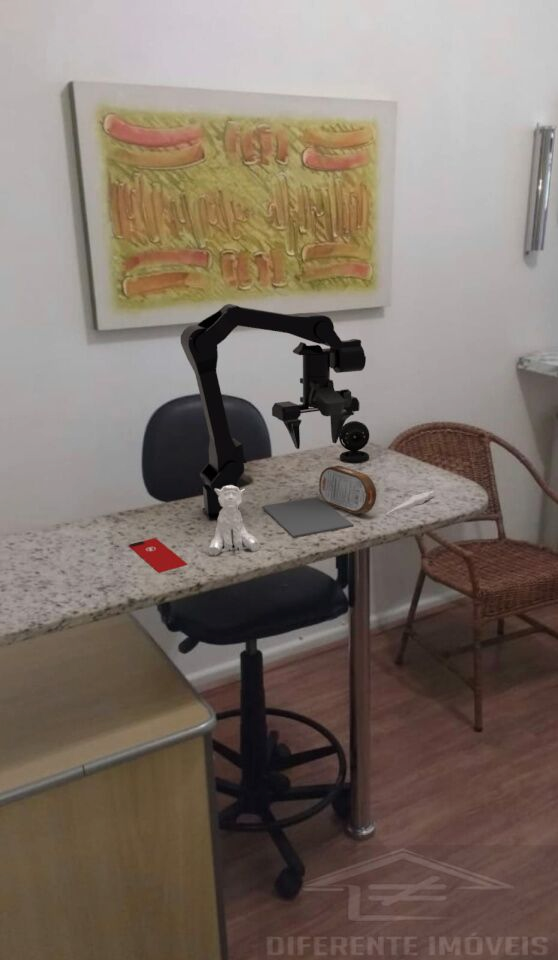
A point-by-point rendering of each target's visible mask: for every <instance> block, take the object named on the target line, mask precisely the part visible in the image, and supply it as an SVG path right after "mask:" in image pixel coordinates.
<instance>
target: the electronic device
mask: <svg viewBox="0 0 558 960" xmlns="http://www.w3.org/2000/svg"><path fill="white" fill-rule="evenodd" d="M128 547H129V549H131V550H132V551H134V552H135V553H136V555H138V557H140V558H141V559H142V560H143V561H145V563H146V564H148V565H149V566H150V567H151V568H152V569H153V570H154V571H156V572H157V573H159V574H160V573H164V572H167V571H172V570H175V569H178V568H181V567H184V566H185V567H186V566H187V565H188V562H186V561H185V560H184V559H183V558H181V557H180V556H179V555H178V554H176V553H175V552H173V551H172V549H170V548H169V547H168V546H167V545H165V544H164V543H163V542H161V541H160V540H159V539H157V537H156V538H155V537H154V538H149V539H146V540H142V541H137V542H132V543H130V544H128Z"/></svg>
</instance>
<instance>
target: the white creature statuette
mask: <svg viewBox="0 0 558 960" xmlns="http://www.w3.org/2000/svg"><path fill="white" fill-rule="evenodd" d="M214 490H215V491H216V493H217V495H218V496H219V497H218V500H219V503H220V506H222V507H223V508H222V509H221V511H220V512H219V517H218V519H216V520H217V523H216V527H215V528H216V529H215V532H214V537H213V539H212V540H211V541H210V544H209V546H208V553H209V555H210V556H214V557H215V556H219V554H220V553H225V552H229V550H230V551H231V552H232V551H233V550H235V551H238V550H239V551H242V550H246V549H248V550H250V551H252V552H257V551H258V550H259V547H260V546H259V545H260V544H259V541H258V540H257V539H256V537H255V536H254V535H252V534H250V533H249V532H248V530H247V529H246V528H245V524H244V522H243V521H244V519H243V517H242V513H241V511H240V506H241V504H243V496H244V493H245V490H246V488H242V489H239V487H238V486H237V485H236V486H233V485H229V486H224V487H222V489H221V490H219V489H214ZM238 507H239V509H238ZM233 546H234V547H233Z"/></svg>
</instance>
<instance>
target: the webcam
mask: <svg viewBox="0 0 558 960" xmlns="http://www.w3.org/2000/svg"><path fill="white" fill-rule="evenodd" d="M338 440H339V442H340V444H341V446H342V447H343V448H344V449H345V450H347V451H343V452H341V453H340V454H339V460H341V462H344V463H349V464H361V463H364V462H367V461H368V460H369V459H370V454H369V453H368V452H366V451H362V449H364V448H365V447H366V446H367V445H368V443H369V440H370V431H369V428H368V426H366V424H365V423H363V422H360V421H357V420H351V421H348V422H346V423H344V425H343V427H342V429H341V432H340V435H339V437H338Z"/></svg>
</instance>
